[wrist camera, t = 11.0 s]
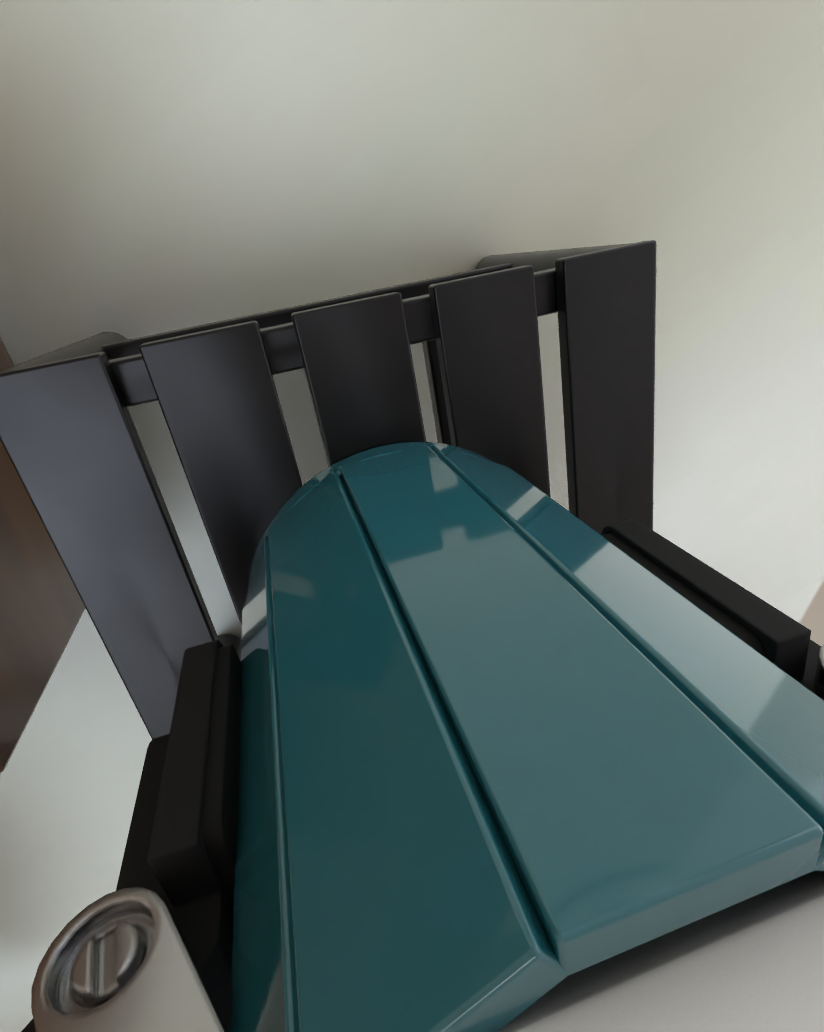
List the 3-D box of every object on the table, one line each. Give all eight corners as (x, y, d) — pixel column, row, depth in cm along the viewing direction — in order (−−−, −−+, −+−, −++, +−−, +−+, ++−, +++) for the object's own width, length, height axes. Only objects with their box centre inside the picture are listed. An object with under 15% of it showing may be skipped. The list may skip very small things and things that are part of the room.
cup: (201, 488, 11) (46, 1154, 3) (535, 406, 12) (1158, 694, 4) (295, 748, 13) (360, 1442, 5) (555, 663, 15) (927, 1136, 7)
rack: (83, 336, 16) (-52, 384, 9) (506, 252, 18) (670, 237, 11) (216, 664, 21) (199, 861, 14) (535, 569, 23) (660, 699, 16)
